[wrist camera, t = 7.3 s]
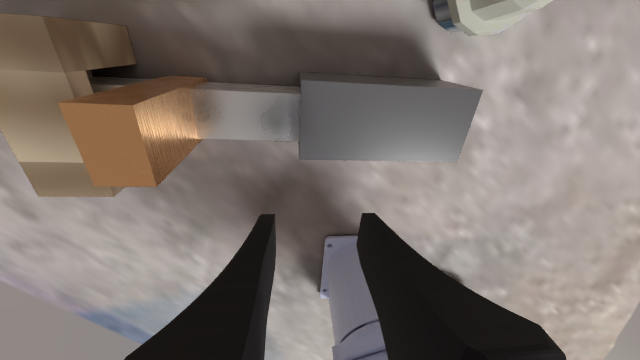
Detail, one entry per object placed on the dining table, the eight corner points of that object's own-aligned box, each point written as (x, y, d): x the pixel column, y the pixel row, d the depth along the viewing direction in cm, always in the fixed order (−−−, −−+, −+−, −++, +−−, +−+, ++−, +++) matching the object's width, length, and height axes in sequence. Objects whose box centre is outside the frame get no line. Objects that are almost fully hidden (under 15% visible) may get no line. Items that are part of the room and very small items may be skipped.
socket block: (161, 156, 20) (114, 196, 15) (107, 155, 19) (38, 196, 14) (126, 25, 16) (41, 16, 10) (55, 20, 15) (-70, 7, 10)
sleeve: (424, 139, 21) (457, 162, 17) (298, 135, 20) (299, 159, 16) (441, 80, 19) (483, 90, 15) (299, 71, 18) (301, 80, 14)
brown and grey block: (335, 131, 20) (363, 187, 12) (118, 124, 18) (-18, 185, 10) (340, 84, 18) (375, 115, 10) (100, 72, 16) (-79, 97, 8)
